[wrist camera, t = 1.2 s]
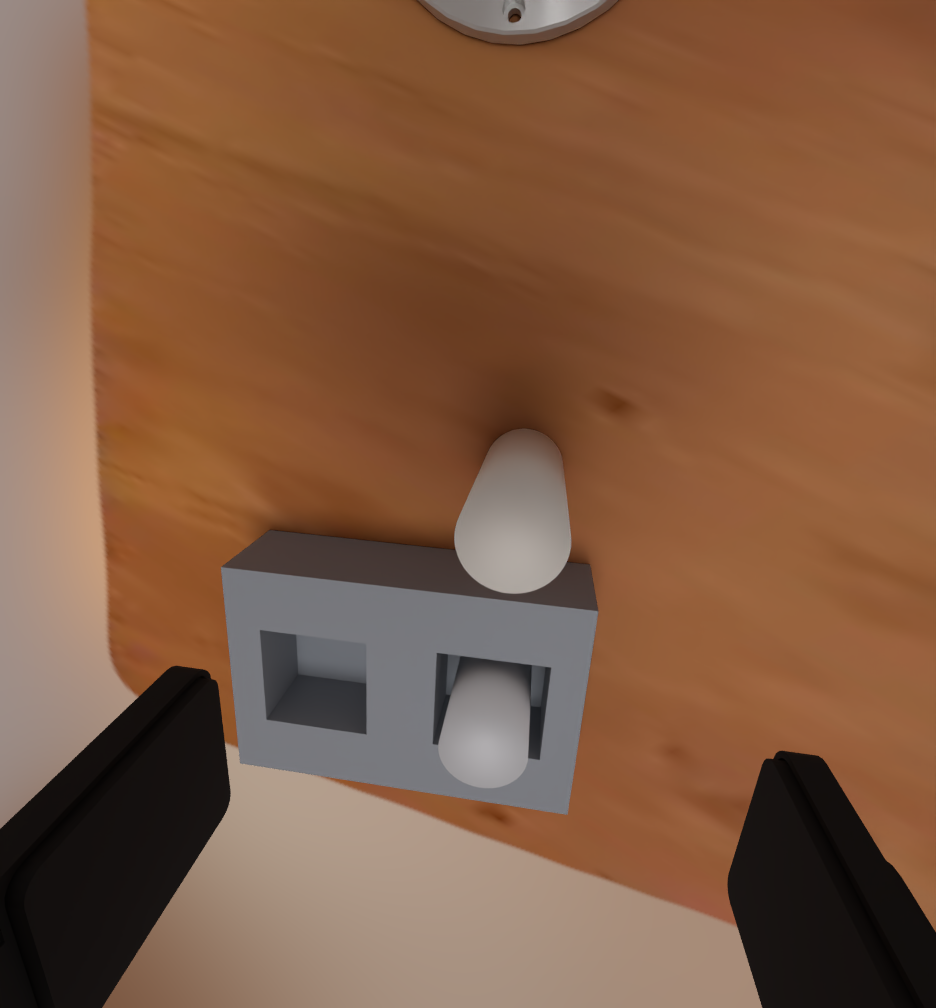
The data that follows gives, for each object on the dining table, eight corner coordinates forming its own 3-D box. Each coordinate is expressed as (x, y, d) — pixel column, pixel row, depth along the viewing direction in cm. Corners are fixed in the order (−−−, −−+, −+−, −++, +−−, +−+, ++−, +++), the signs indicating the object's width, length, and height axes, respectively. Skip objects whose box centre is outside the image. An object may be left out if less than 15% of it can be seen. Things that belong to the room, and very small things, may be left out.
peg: (487, 425, 28) (457, 480, 19) (567, 431, 27) (578, 491, 18) (482, 500, 29) (451, 586, 20) (558, 507, 29) (564, 599, 19)
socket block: (269, 530, 31) (182, 596, 24) (590, 564, 30) (604, 648, 22) (280, 704, 35) (209, 808, 28) (564, 744, 33) (569, 868, 26)
